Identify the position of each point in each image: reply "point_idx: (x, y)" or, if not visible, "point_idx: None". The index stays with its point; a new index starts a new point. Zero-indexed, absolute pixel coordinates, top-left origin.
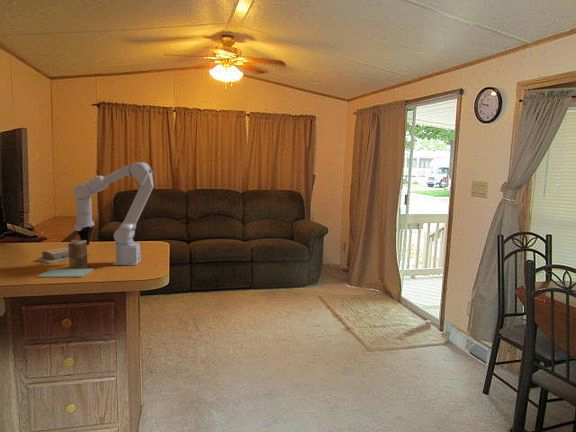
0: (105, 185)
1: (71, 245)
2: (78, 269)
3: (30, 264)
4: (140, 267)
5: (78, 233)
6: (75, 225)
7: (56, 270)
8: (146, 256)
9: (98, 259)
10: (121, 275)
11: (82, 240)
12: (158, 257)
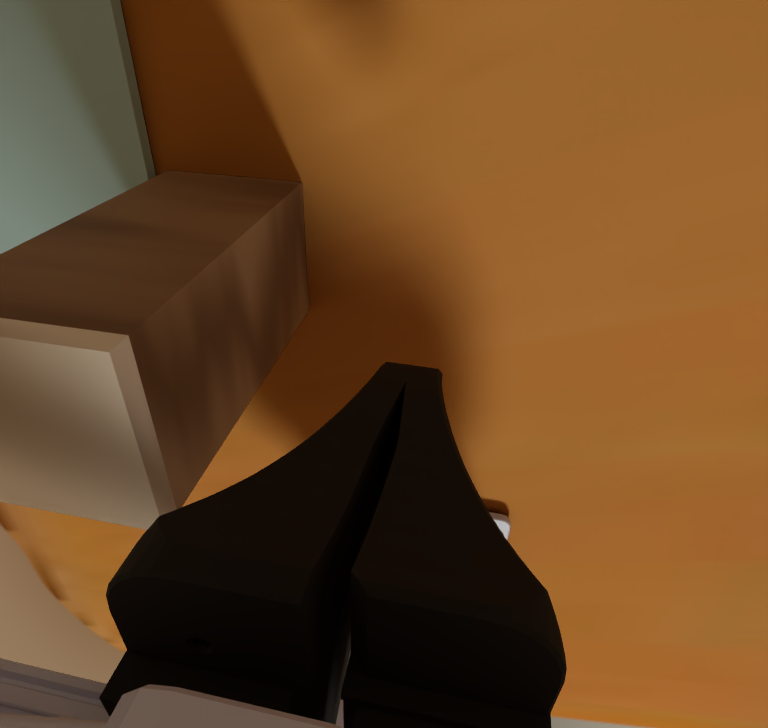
0: None
1: None
2: None
3: None
4: None
5: (221, 502)
6: (137, 711)
7: (44, 55)
8: (652, 654)
9: (643, 341)
10: (109, 539)
11: (137, 486)
12: (587, 697)
